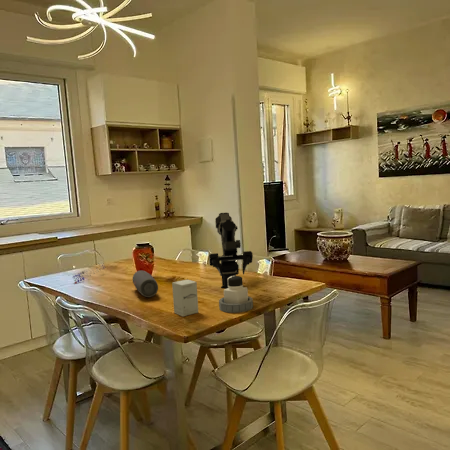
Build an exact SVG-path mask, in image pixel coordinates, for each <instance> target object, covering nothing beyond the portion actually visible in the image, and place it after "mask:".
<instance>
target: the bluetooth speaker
mask: <svg viewBox="0 0 450 450" xmlns="http://www.w3.org/2000/svg"><path fill="white" fill-rule="evenodd" d="M132 283H133V286H134V287H135V289H136V290H137V291H138V292H139V294H141V296H143V297H145V298H151V297H154V296H156V295H157V293H158V291H159V284H158V282H157V280H156V279H155V278H154V277H153V276H152V274H151V273H149V272H147V271H145V270H137V271H136V272H135V273H133V276H132Z"/></svg>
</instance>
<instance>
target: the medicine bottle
mask: <svg viewBox="0 0 450 450" xmlns="http://www.w3.org/2000/svg"><path fill="white" fill-rule="evenodd" d="M243 282H244V281H243V277H242V276H240V275H236V276H231V277H229V278H228V288H223V297H224V303H227V304H240V303H245V302H248V296H249V294H248V291H249V290H248V287H247V286H246V287H244V285H243V284H244V283H243Z"/></svg>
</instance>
